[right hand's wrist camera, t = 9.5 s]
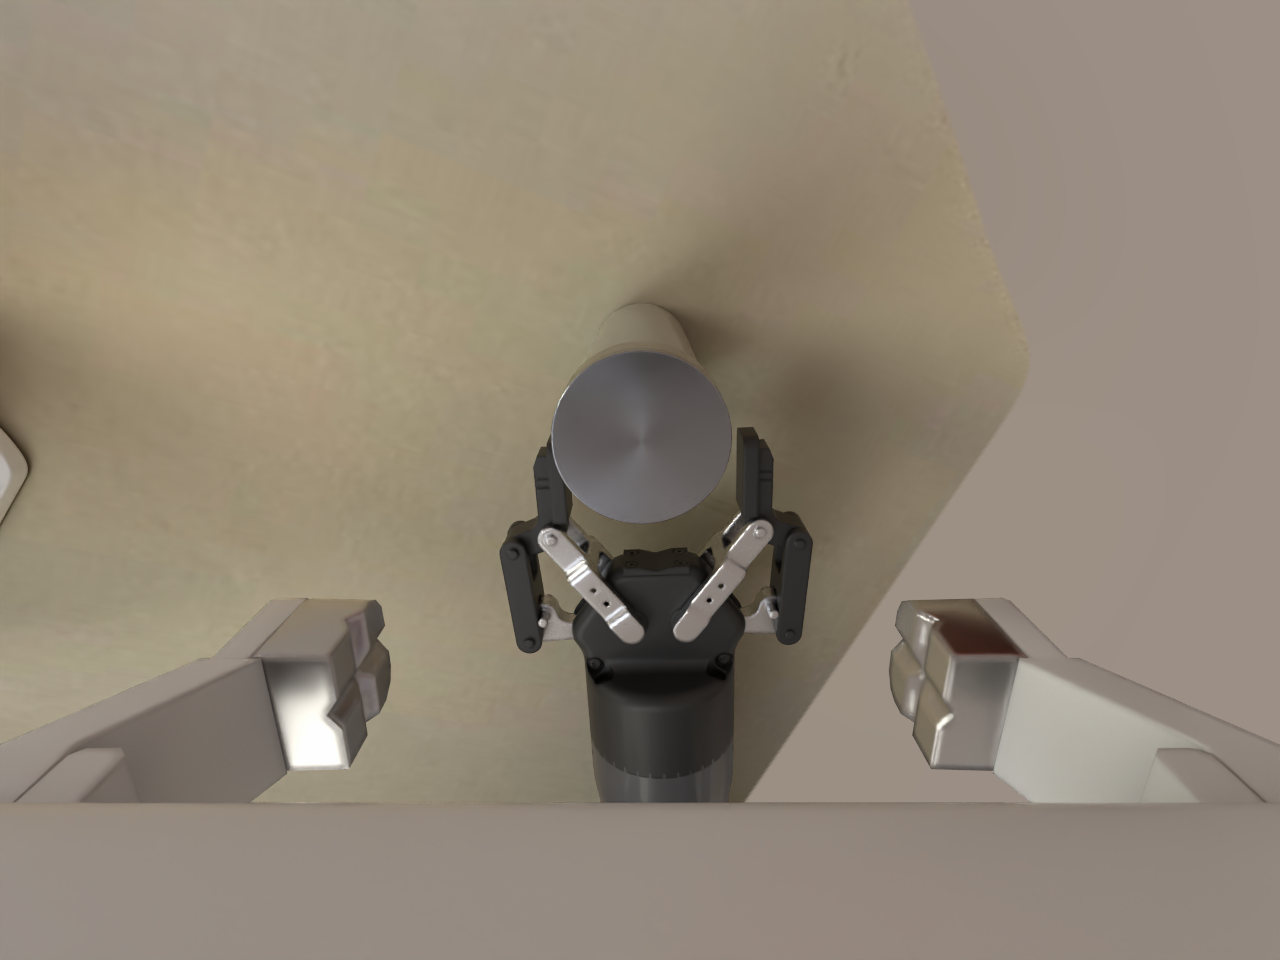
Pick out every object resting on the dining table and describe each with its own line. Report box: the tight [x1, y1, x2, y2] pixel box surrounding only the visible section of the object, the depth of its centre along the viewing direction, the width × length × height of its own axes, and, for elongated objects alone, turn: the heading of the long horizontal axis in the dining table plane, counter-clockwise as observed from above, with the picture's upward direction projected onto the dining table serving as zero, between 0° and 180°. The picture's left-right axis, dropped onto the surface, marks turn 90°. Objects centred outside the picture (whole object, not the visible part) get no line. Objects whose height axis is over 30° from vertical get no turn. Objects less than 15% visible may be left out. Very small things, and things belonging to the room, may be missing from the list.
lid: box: [551, 341, 732, 524], centre depth 21 cm, size 5×5×2 cm
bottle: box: [585, 303, 698, 362], centre depth 28 cm, size 5×5×16 cm
